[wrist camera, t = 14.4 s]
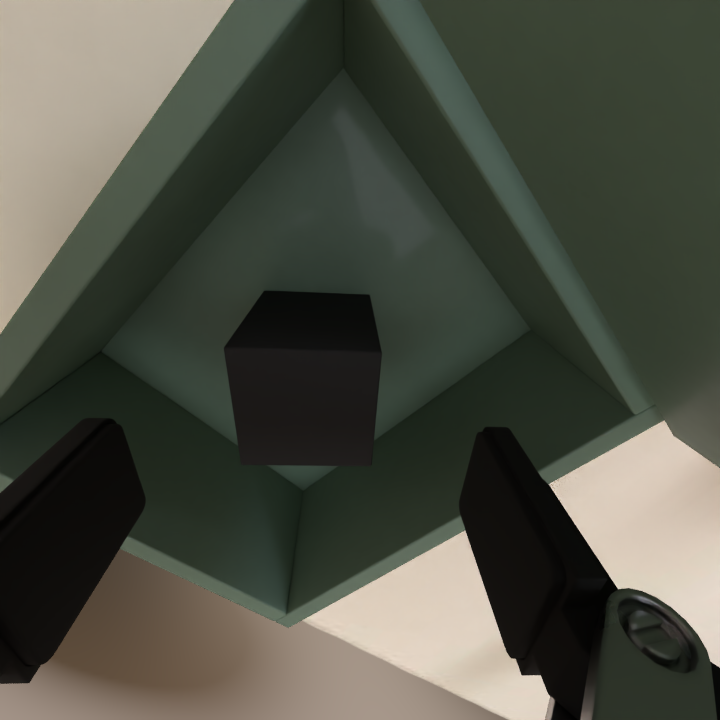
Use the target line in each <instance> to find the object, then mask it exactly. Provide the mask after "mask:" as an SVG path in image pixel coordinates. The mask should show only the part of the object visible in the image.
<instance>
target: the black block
mask: <svg viewBox="0 0 720 720" xmlns="http://www.w3.org/2000/svg"><path fill="white" fill-rule="evenodd" d="M224 354H225V361H226V368H227V374H228V381H229V388H230V394H231V401H232V408H233V414H234V421H235V428H236V434H237V441H238V448H239V454H240V461H241V465H290V466H371V465H372V456H373V446H374V435H375V424H376V413H377V402H378V391H379V381H380V370H381V359H382V351H381V346H380V341H379V336H378V331H377V327H376V322H375V317H374V312H373V307H372V303H371V298H370V295H367V294H342V293H316V292H291V291H263V293H262V294H261V296H260V297H259V298H258V300H257V301H256V303H255V304H254V305H253V307H252V308H251V310H250V311H249V313H248V314H247V315H246V317H245V318H244V320H243V321H242V322H241V324H240V325H239V327H238V328H237V330H236V331H235V332H234V334H233V335H232V337H231V338H230V339H229V341H228V342H227V344H226V345H225V347H224Z"/></svg>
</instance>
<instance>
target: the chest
mask: <svg viewBox="0 0 720 720" xmlns="http://www.w3.org/2000/svg"><path fill="white" fill-rule="evenodd" d="M263 291H291V292H316V293H342V294H367V295H370V298H371V303H372V307H373V312H374V317H375V322H376V327H377V331H378V336H379V341H380V346H381V351H382V359H381V370H380V381H379V391H378V402H377V413H376V424H375V435H374V446H373V456H372V465H371V466H290V465H241V461H240V454H239V448H238V441H237V434H236V428H235V421H234V414H233V408H232V401H231V394H230V388H229V381H228V374H227V368H226V361H225V354H224V347H225V345H226V344H227V342H228V341H229V339H230V338H231V337H232V335H233V334H234V332H235V331H236V330H237V328H238V327H239V325H240V324H241V322H242V321H243V320H244V318H245V317H246V315H247V314H248V313H249V311H250V310H251V308H252V307H253V305H254V304H255V303H256V301H257V300H258V298H259V297H260V296H261V294H262V293H263ZM85 418H111V419H114V420H115V421H116V423H117V424H119V425H121V426H122V428H123V430H124V433H125V436H126V439H127V442H128V445H129V448H130V451H131V454H132V457H133V461H134V464H135V467H136V470H137V473H138V476H139V479H140V482H141V485H142V488H143V491H144V494H145V497H146V503H145V507H144V510H143V512H142V514H141V515H140V517H139V518H138V520H137V522H136V523H135V525H134V526H133V528H132V530H131V531H130V533H129V534H128V536H127V538H126V539H125V541H124V542H123V544H122V546H121V547H120V549H122V550H124V551H126V552H128V553H130V554H133V555H135V556H137V557H139V558H141V559H143V560H145V561H147V562H150V563H152V564H154V565H156V566H158V567H160V568H162V569H164V570H166V571H169V572H171V573H173V574H175V575H177V576H179V577H182V578H183V579H186V580H188V581H190V582H192V583H194V584H197V585H198V586H201V587H203V588H205V589H207V590H209V591H211V592H213V593H215V594H217V595H219V596H222V597H224V598H226V599H228V600H230V601H232V602H234V603H237V604H239V605H241V606H243V607H245V608H247V609H249V610H251V611H254V612H256V613H258V614H260V615H262V616H264V617H266V618H269V619H270V620H273V621H276V622H277V623H279V624H281V625H283V626H286V627H291V626H292V625H294V624H296V623H298V622H300V621H301V620H303V619H305V618H307V617H309V616H311V615H312V614H314V613H316V612H318V611H320V610H321V609H323V608H325V607H327V606H329V605H330V604H332V603H334V602H336V601H338V600H340V599H341V598H343V597H345V596H347V595H349V594H350V593H352V592H354V591H356V590H358V589H359V588H361V587H363V586H365V585H367V584H368V583H370V582H372V581H374V580H376V579H378V578H379V577H381V576H383V575H385V574H387V573H388V572H390V571H392V570H394V569H396V568H397V567H399V566H401V565H403V564H405V563H407V562H408V561H410V560H412V559H414V558H416V557H417V556H419V555H421V554H423V553H425V552H426V551H428V550H430V549H432V548H434V547H435V546H437V545H439V544H441V543H443V542H445V541H446V540H448V539H450V538H452V537H454V536H455V535H457V534H459V533H461V532H463V531H464V530H465V527H464V524H463V521H462V518H461V515H460V511H459V499H460V495H461V491H462V488H463V484H464V480H465V476H466V472H467V468H468V465H469V461H470V457H471V453H472V449H473V446H474V442H475V438H476V435H477V433H478V432H482V431H483V429H484V428H485V427H507V428H509V429H510V430H511V432H512V433H513V435H514V436H515V438H516V439H517V441H518V442H519V444H520V445H521V447H522V448H523V450H524V451H525V453H526V454H527V456H528V458H529V459H530V461H531V462H532V464H533V465H534V467H535V468H536V470H537V471H538V473H539V474H540V476H541V477H542V479H543V480H545V481H546V482H547V484H550V483H551V482H553V481H555V480H557V479H559V478H560V477H562V476H564V475H566V474H568V473H569V472H571V471H573V470H575V469H577V468H579V467H580V466H582V465H584V464H586V463H588V462H589V461H591V460H593V459H595V458H597V457H598V456H600V455H602V454H604V453H606V452H607V451H609V450H611V449H613V448H615V447H617V446H618V445H620V444H622V443H624V442H626V441H627V440H629V439H631V438H633V437H635V436H636V435H638V434H640V433H642V432H644V431H646V430H647V429H649V428H651V427H653V426H655V425H656V424H658V423H660V422H662V421H664V418H663V417H662V415H661V413H660V411H659V410H658V408H657V406H656V405H655V403H654V401H653V399H652V398H651V396H650V394H649V393H648V391H647V389H646V387H645V386H644V384H643V382H642V381H641V379H640V377H639V376H638V374H637V372H636V370H635V369H634V367H633V365H632V364H631V362H630V360H629V358H628V357H627V355H626V353H625V352H624V350H623V348H622V346H621V345H620V343H619V341H618V340H617V338H616V336H615V335H614V333H613V331H612V329H611V328H610V326H609V324H608V323H607V321H606V319H605V317H604V316H603V314H602V312H601V311H600V309H599V307H598V305H597V304H596V302H595V300H594V299H593V297H592V295H591V294H590V292H589V290H588V288H587V287H586V285H585V283H584V282H583V280H582V278H581V276H580V275H579V273H578V271H577V270H576V268H575V266H574V264H573V263H572V261H571V259H570V258H569V256H568V254H567V253H566V251H565V249H564V247H563V246H562V244H561V242H560V241H559V239H558V237H557V235H556V234H555V232H554V230H553V229H552V227H551V225H550V223H549V222H548V220H547V218H546V217H545V215H544V213H543V212H542V210H541V208H540V206H539V205H538V203H537V201H536V200H535V198H534V196H533V194H532V193H531V191H530V189H529V188H528V186H527V184H526V183H525V181H524V179H523V177H522V176H521V174H520V172H519V171H518V169H517V167H516V165H515V164H514V162H513V160H512V159H511V157H510V155H509V153H508V152H507V150H506V148H505V147H504V145H503V143H502V142H501V140H500V138H499V136H498V135H497V133H496V131H495V130H494V128H493V126H492V124H491V123H490V121H489V119H488V118H487V116H486V114H485V112H484V111H483V109H482V107H481V106H480V104H479V102H478V101H477V99H476V97H475V95H474V94H473V92H472V90H471V89H470V87H469V85H468V83H467V82H466V80H465V78H464V77H463V75H462V73H461V71H460V70H459V68H458V66H457V65H456V63H455V61H454V60H453V58H452V56H451V54H450V53H449V51H448V49H447V48H446V46H445V44H444V42H443V41H442V39H441V37H440V36H439V34H438V32H437V30H436V29H435V27H434V25H433V24H432V22H431V20H430V19H429V17H428V15H427V13H426V12H425V10H424V8H423V7H422V5H421V3H420V1H419V0H234V2H233V3H232V4H231V6H230V7H229V9H228V10H227V12H226V13H225V14H224V16H223V17H222V19H221V20H220V22H219V23H218V24H217V26H216V27H215V29H214V30H213V32H212V33H211V34H210V36H209V37H208V39H207V40H206V41H205V43H204V44H203V46H202V47H201V49H200V50H199V51H198V53H197V54H196V56H195V57H194V59H193V60H192V61H191V63H190V64H189V66H188V67H187V69H186V70H185V71H184V73H183V74H182V76H181V77H180V79H179V80H178V81H177V83H176V84H175V86H174V87H173V89H172V90H171V91H170V93H169V94H168V96H167V97H166V99H165V100H164V101H163V103H162V104H161V106H160V107H159V109H158V110H157V111H156V113H155V114H154V116H153V117H152V119H151V120H150V121H149V123H148V124H147V126H146V127H145V129H144V130H143V131H142V133H141V134H140V136H139V137H138V139H137V140H136V141H135V143H134V144H133V146H132V147H131V149H130V150H129V151H128V153H127V154H126V156H125V157H124V159H123V160H122V161H121V163H120V164H119V166H118V167H117V169H116V170H115V171H114V173H113V174H112V176H111V177H110V179H109V180H108V181H107V183H106V184H105V186H104V187H103V189H102V190H101V191H100V193H99V194H98V196H97V197H96V198H95V200H94V201H93V203H92V204H91V206H90V207H89V208H88V210H87V211H86V213H85V214H84V216H83V217H82V218H81V220H80V221H79V223H78V224H77V226H76V227H75V228H74V230H73V231H72V233H71V234H70V236H69V237H68V238H67V240H66V241H65V243H64V244H63V246H62V247H61V248H60V250H59V251H58V253H57V254H56V256H55V257H54V258H53V260H52V261H51V263H50V264H49V266H48V267H47V268H46V270H45V271H44V273H43V274H42V276H41V277H40V278H39V280H38V281H37V283H36V284H35V286H34V287H33V288H32V290H31V291H30V293H29V294H28V296H27V297H26V298H25V300H24V301H23V303H22V304H21V306H20V307H19V308H18V310H17V311H16V313H15V314H14V316H13V317H12V318H11V320H10V321H9V323H8V324H7V326H6V327H5V328H4V330H3V331H2V333H1V334H0V492H2V491H3V490H4V489H5V488H6V487H7V486H8V485H10V484H11V483H12V482H13V481H14V480H15V479H16V478H17V477H18V476H20V475H21V474H22V473H23V472H24V471H25V470H26V469H27V468H29V467H30V466H31V465H32V464H33V463H34V462H35V461H36V460H37V459H39V458H40V457H41V456H42V455H43V454H44V453H45V452H46V451H48V450H49V449H50V448H51V447H52V446H53V445H54V444H55V443H56V442H58V441H59V440H60V439H61V438H62V437H63V436H64V435H65V434H67V433H68V432H69V431H70V430H71V429H72V428H73V427H74V426H75V425H77V424H78V423H79V422H80V421H81V420H83V419H85Z"/></svg>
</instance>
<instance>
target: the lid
mask: <svg viewBox="0 0 720 720" xmlns="http://www.w3.org/2000/svg"><path fill="white" fill-rule="evenodd" d="M419 1H420V3H421V5H422V7H423V8H424V10H425V12H426V13H427V15H428V17H429V19H430V20H431V22H432V24H433V25H434V27H435V29H436V30H437V32H438V34H439V36H440V37H441V39H442V41H443V42H444V44H445V46H446V48H447V49H448V51H449V53H450V54H451V56H452V58H453V60H454V61H455V63H456V65H457V66H458V68H459V70H460V71H461V73H462V75H463V77H464V78H465V80H466V82H467V83H468V85H469V87H470V89H471V90H472V92H473V94H474V95H475V97H476V99H477V101H478V102H479V104H480V106H481V107H482V109H483V111H484V112H485V114H486V116H487V118H488V119H489V121H490V123H491V124H492V126H493V128H494V130H495V131H496V133H497V135H498V136H499V138H500V140H501V142H502V143H503V145H504V147H505V148H506V150H507V152H508V153H509V155H510V157H511V159H512V160H513V162H514V164H515V165H516V167H517V169H518V171H519V172H520V174H521V176H522V177H523V179H524V181H525V183H526V184H527V186H528V188H529V189H530V191H531V193H532V194H533V196H534V198H535V200H536V201H537V203H538V205H539V206H540V208H541V210H542V212H543V213H544V215H545V217H546V218H547V220H548V222H549V223H550V225H551V227H552V229H553V230H554V232H555V234H556V235H557V237H558V239H559V241H560V242H561V244H562V246H563V247H564V249H565V251H566V253H567V254H568V256H569V258H570V259H571V261H572V263H573V264H574V266H575V268H576V270H577V271H578V273H579V275H580V276H581V278H582V280H583V282H584V283H585V285H586V287H587V288H588V290H589V292H590V294H591V295H592V297H593V299H594V300H595V302H596V304H597V305H598V307H599V309H600V311H601V312H602V314H603V316H604V317H605V319H606V321H607V323H608V324H609V326H610V328H611V329H612V331H613V333H614V335H615V336H616V338H617V340H618V341H619V343H620V345H621V346H622V348H623V350H624V352H625V353H626V355H627V357H628V358H629V360H630V362H631V364H632V365H633V367H634V369H635V370H636V372H637V374H638V376H639V377H640V379H641V381H642V382H643V384H644V386H645V387H646V389H647V391H648V393H649V394H650V396H651V398H652V399H653V401H654V403H655V405H656V406H657V408H658V410H659V411H660V413H661V415H662V417H663V418H664V420H665V422H666V423H667V425H668V427H669V428H670V430H671V432H672V434H673V435H674V436H675V437H676V438H678V439H679V440H681V441H682V442H684V443H685V444H686V445H688V446H689V447H691V448H692V449H693V450H695V451H696V452H698V453H699V454H701V455H702V456H703V457H705V458H706V459H708V460H709V461H711V462H712V463H713V464H715V465H716V466H718V467H719V468H720V0H419Z"/></svg>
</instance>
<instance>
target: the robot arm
mask: <svg viewBox="0 0 720 720" xmlns="http://www.w3.org/2000/svg"><path fill="white" fill-rule="evenodd" d="M145 503H146V497H145V494H144V491H143V488H142V485H141V482H140V479H139V476H138V473H137V470H136V467H135V464H134V461H133V457H132V454H131V451H130V448H129V445H128V442H127V439H126V436H125V433H124V430H123V428H122V426H121V425H119V424H117V423H116V421H115V420H114V419H111V418H85V419H83V420H81V421H80V422H79V423H78V424H77V425H75V426H74V427H73V428H72V429H71V430H70V431H69V432H68V433H67V434H65V435H64V436H63V437H62V438H61V439H60V440H59V441H58V442H56V443H55V444H54V445H53V446H52V447H51V448H50V449H49V450H48V451H46V452H45V453H44V454H43V455H42V456H41V457H40V458H39V459H37V460H36V461H35V462H34V463H33V464H32V465H31V466H30V467H29V468H27V469H26V470H25V471H24V472H23V473H22V474H21V475H20V476H18V477H17V478H16V479H15V480H14V481H13V482H12V483H11V484H10V485H8V486H7V487H6V488H5V489H4V490H3V491H2V492H1V493H0V683H1V684H5V683H6V684H7V683H30V681H31V679H32V678H33V676H34V675H35V673H36V672H37V670H38V668H39V667H40V665H41V664H44V663H46V662H47V661H48V660H49V659H50V658H51V657H52V656H53V655H54V653H55V651H56V650H57V649H58V647H59V645H60V644H61V642H62V641H63V639H64V637H65V636H66V634H67V632H68V631H69V629H70V628H71V626H72V624H73V623H74V621H75V619H76V618H77V616H78V615H79V613H80V611H81V610H82V608H83V607H84V605H85V604H86V602H87V600H88V599H89V597H90V596H91V594H92V592H93V591H94V589H95V587H96V586H97V584H98V583H99V581H100V579H101V578H102V576H103V575H104V573H105V571H106V570H107V568H108V567H109V565H110V563H111V562H112V560H113V559H114V557H115V555H116V554H117V552H118V550H119V549H120V547H121V546H122V544H123V542H124V541H125V539H126V538H127V536H128V534H129V533H130V531H131V530H132V528H133V526H134V525H135V523H136V522H137V520H138V518H139V517H140V515H141V514H142V512H143V510H144V507H145ZM459 511H460V515H461V518H462V521H463V524H464V527H465V530H466V533H467V536H468V539H469V542H470V545H471V548H472V551H473V554H474V557H475V560H476V563H477V566H478V569H479V572H480V575H481V578H482V581H483V584H484V587H485V590H486V592H487V595H488V598H489V601H490V604H491V607H492V610H493V613H494V616H495V619H496V622H497V625H498V628H499V631H500V634H501V637H502V640H503V643H504V646H505V648H506V651H507V653H508V655H509V656H510V657H511V658H513V659H516V660H517V663H518V666H519V669H520V672H521V675H541V677H542V679H543V682H544V684H545V687H546V689H547V692H548V694H549V695H550V699H549V704H548V708H547V713H546V717H545V720H720V668H719V667H718V666H716V665H715V664H713V663H712V662H710V659H709V656H708V652H707V650H706V648H705V646H704V645H703V643H702V641H701V639H700V638H699V636H698V634H697V633H696V632H695V631H694V630H693V629H692V627H691V626H690V625H689V624H688V623H687V621H686V620H685V619H684V618H682V617H681V616H680V615H679V614H678V613H677V612H676V611H675V610H673V609H672V608H671V607H670V606H668V605H667V604H665V603H664V602H662V601H661V600H659V599H658V598H656V597H654V596H651V595H649V594H647V593H645V592H643V591H639V590H634V589H630V588H627V589H617V587H616V586H615V584H614V583H613V581H612V580H611V578H610V577H609V575H608V574H607V572H606V571H605V569H604V568H603V566H602V565H601V563H600V561H599V560H598V558H597V557H596V555H595V554H594V552H593V551H592V549H591V548H590V546H589V545H588V543H587V542H586V540H585V539H584V537H583V536H582V534H581V533H580V531H579V530H578V528H577V527H576V525H575V524H574V522H573V521H572V519H571V518H570V516H569V515H568V513H567V512H566V510H565V509H564V507H563V506H562V504H561V503H560V501H559V500H558V498H557V497H556V495H555V494H554V492H553V491H552V489H551V487H550V486H549V485H548V484H547V482H546V481H545V480H543V479H542V477H541V476H540V474H539V473H538V471H537V470H536V468H535V467H534V465H533V464H532V462H531V461H530V459H529V458H528V456H527V454H526V453H525V451H524V450H523V448H522V447H521V445H520V444H519V442H518V441H517V439H516V438H515V436H514V435H513V433H512V432H511V430H510V429H509V428H507V427H485V428H484V429H483V431H482V432H478V433H477V435H476V438H475V442H474V446H473V449H472V453H471V457H470V461H469V465H468V468H467V472H466V476H465V480H464V484H463V488H462V491H461V495H460V499H459Z"/></svg>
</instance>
